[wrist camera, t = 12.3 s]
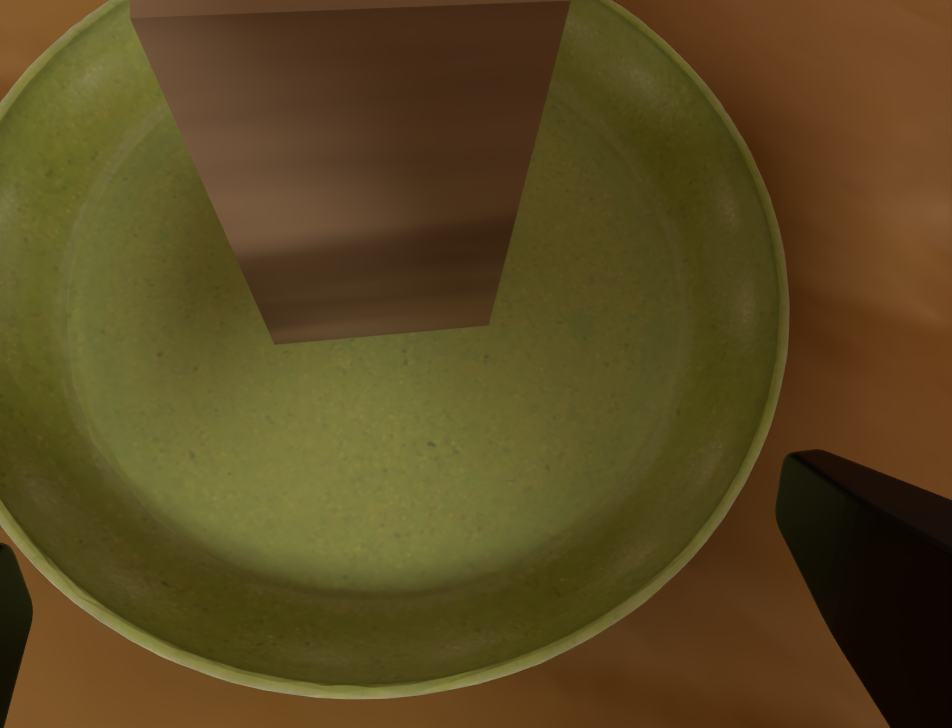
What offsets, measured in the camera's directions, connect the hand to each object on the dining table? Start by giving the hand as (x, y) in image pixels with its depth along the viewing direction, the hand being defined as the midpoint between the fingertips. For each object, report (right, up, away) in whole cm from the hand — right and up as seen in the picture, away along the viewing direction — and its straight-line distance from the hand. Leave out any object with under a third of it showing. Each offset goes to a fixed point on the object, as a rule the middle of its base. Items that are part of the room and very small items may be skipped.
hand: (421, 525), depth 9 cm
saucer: (-2, +4, +13) cm, 14 cm away
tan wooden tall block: (-2, +5, +10) cm, 11 cm away
